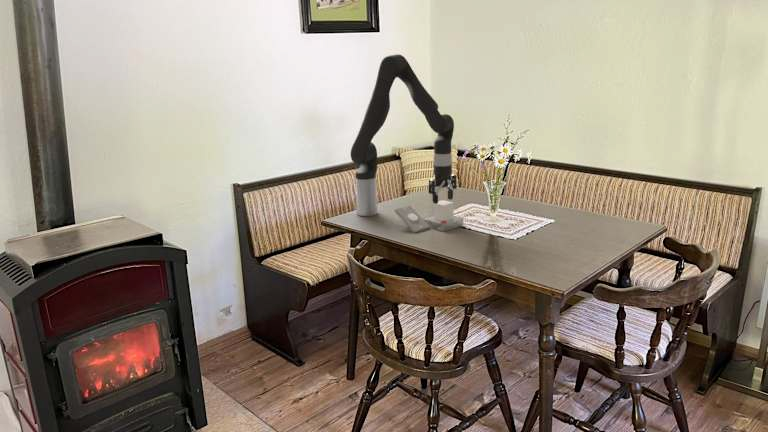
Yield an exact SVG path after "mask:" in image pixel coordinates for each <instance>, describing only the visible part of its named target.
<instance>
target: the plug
mask: <svg viewBox="0 0 768 432" xmlns="http://www.w3.org/2000/svg"><path fill="white" fill-rule="evenodd" d="M432 204H433V205H432V206H433V207H432V209H433V210H432V211H433V214H432V216H433V218H434V219H436V220H440V221H447V220H450V219H454V216H455V215H454V202H452V201H449V200H443V199H442V200H438V203H437V204H436V203H433V202H432Z"/></svg>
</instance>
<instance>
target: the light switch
mask: <svg viewBox="0 0 768 432" xmlns="http://www.w3.org/2000/svg"><path fill="white" fill-rule="evenodd" d="M394 212H395V214H396V215H397V216H398V217H399V218H400V219H401V220H402V221H403V223H405V225H406V226H407V227H408V228H409V229H410V230H411V231H412V233H413V234H416V233H420V232H423V231H426V230H429V229H430V226H429V225H428V224H427V223H426V222H425V221H424V220H423V219H424V218H422V217H421V215H420V214H418V212H417V211H416V210H415V209H414V208H413V206H411V205H407V206H404V207H400V208H396V209H394Z"/></svg>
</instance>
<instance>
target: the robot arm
mask: <svg viewBox="0 0 768 432" xmlns="http://www.w3.org/2000/svg"><path fill="white" fill-rule="evenodd" d="M396 78H398V79H399V80H401V81H402V82H403V83H404V84H405V86H406V88H407V89H408V92H409V95H410V98H411V99H412V102H413V103H414V105H415V106H416V107H417V108H418V110H419V111H420V112H421V113H422V115H424V117H425V121H426V122H427V124H428V125H429V127H430V129H431V130H432V131H433V132H434V133H437V137H436V139H434V142H433V143H434V144H433V152H434V153H433V175H434V179H428V194H430V195H432V204H433V203H436V204H437V203H438V201H439V192H440V191H441V190H442V189H444V188H446V189H447V200H453V197H454V190H455V189H457V186H458V185H457V184H458V183H457V182H458V181H457V179H458V178H457V175H456V174H452V173H453V156H452V139H453V137H454V135H453V134H454V129H455V122H454V119H453V117H452V116H451V115H449V114H447V113H444V114H442V113H440V111H439V104H438V103H437V102H436V101H435V99H434V98H433V97H432V95H431V94H430V93H429V92H428V90H426V88H425V87H424V86H423V84H422V82H421V81H420V80H419V78H418V77H417V75H416V73H415V71H414V69H413V68H412V66H411V64H410V63H409V61H408V60H407V59H406V57H405V56H404V55H401V54H398V53H397V54H391V55H387V56H385V57H384V58H383V59H381V62H380V64H379V68H378V72H377V75H376V80H375V85H374V87H373V91H372V93H371V97H370V100H369V102H368V105H367V108H366V110H365V113H364V118H363V120H362V122H361V125H360V128H359V131H358V133H357V135H356V138H355V140H354V142H353V143H352V147H351V150H350V159H351V162H353V163H354V164H356V165H360V166H359V168H358V169H357V170H355V176H354V177H355V189H356V190H355V191H356V192H355V210H356V212H355V213H356V214H357V215H358V216H361V217H372V216H375V215H377V214H378V198H377V197H378V196H377V177H376V176H377V175H376V173H377V171H378V151H377V148H376V147H377V146H376V145H375V144H374V143H373V142H372V140H373V139H374V138H375V136H376V134H377V133H378V132H379V131H380V130H381V129H382V127H383V126H384V124H385V122H386V120H387V117H388V114H389V112H390V107H391V100H390V98H391V97H390V92H391V89H392V85H393V83H394V81H395V80H396Z"/></svg>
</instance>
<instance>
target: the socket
mask: <svg viewBox="0 0 768 432" xmlns="http://www.w3.org/2000/svg"><path fill="white" fill-rule="evenodd" d="M453 216H454V219H450V220H447V221H440V220H436V219H434V218H433V215H432V216H428V217H425V218H422V219H423V220H424V221H425V222H426V223H427V224H428V225H429V226H430V228H431V229H434V230H437V231H441V232H445V231H449V230H452V229H455V228H459V227H461V226H464V218H463V217H460V216H457V215H453ZM430 228H429V229H430Z"/></svg>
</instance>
